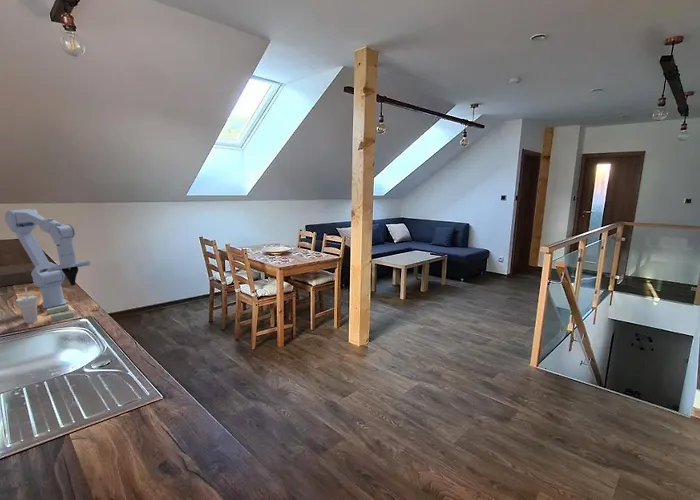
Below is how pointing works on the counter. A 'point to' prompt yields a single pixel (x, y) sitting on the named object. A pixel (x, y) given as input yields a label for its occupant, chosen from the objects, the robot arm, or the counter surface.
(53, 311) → the slot
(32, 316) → the smoothie
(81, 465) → the counter surface
